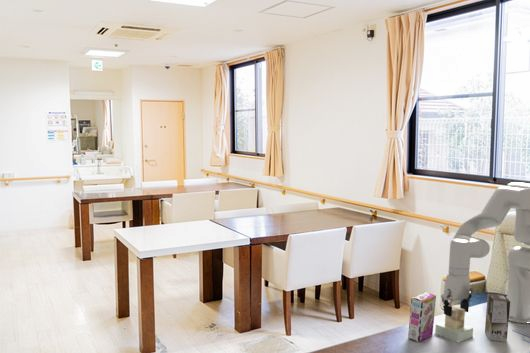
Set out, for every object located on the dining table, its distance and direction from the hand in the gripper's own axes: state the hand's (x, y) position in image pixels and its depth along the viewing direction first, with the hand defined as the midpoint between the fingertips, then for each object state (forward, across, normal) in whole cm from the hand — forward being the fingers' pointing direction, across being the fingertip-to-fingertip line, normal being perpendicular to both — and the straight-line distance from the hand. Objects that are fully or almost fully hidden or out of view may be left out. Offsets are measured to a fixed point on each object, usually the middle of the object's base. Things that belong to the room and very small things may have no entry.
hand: (456, 313), depth 196 cm
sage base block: (+9, +1, 0) cm, 9 cm away
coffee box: (+9, -13, +8) cm, 18 cm away
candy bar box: (+9, +15, -4) cm, 17 cm away
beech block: (+5, 0, 0) cm, 5 cm away
